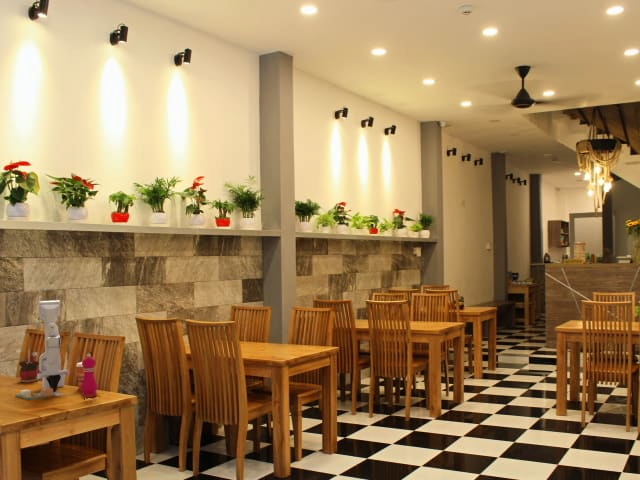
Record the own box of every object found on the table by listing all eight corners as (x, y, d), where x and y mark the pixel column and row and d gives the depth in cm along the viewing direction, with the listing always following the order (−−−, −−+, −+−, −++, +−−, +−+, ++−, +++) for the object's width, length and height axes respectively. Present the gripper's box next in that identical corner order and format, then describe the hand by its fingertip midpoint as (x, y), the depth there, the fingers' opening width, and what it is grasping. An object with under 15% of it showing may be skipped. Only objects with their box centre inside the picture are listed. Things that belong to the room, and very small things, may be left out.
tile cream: (26, 389, 320) (20, 390, 317) (30, 390, 317) (24, 391, 315) (26, 398, 319) (20, 399, 317) (31, 399, 317) (24, 400, 315)
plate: (50, 394, 330) (50, 390, 330) (64, 397, 321) (64, 394, 321) (30, 397, 323) (30, 394, 323) (44, 400, 314) (44, 397, 314)
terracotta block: (49, 394, 321) (49, 387, 321) (53, 395, 319) (53, 388, 319) (40, 395, 318) (40, 389, 318) (44, 396, 316) (44, 390, 316)
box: (30, 397, 323) (30, 391, 323) (44, 400, 314) (44, 395, 314) (15, 399, 318) (15, 394, 318) (29, 403, 308) (29, 397, 308)
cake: (15, 382, 365) (14, 348, 366) (25, 379, 375) (24, 346, 375) (33, 382, 364) (33, 348, 364) (43, 379, 373) (43, 346, 373)
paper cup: (73, 392, 331) (72, 363, 332) (84, 390, 338) (83, 361, 339) (86, 393, 328) (85, 364, 329) (97, 390, 336) (96, 361, 336)
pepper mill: (101, 396, 321) (100, 352, 322) (91, 399, 314) (90, 355, 315) (88, 395, 324) (87, 352, 324) (77, 398, 317) (77, 354, 317)
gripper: (42, 365, 313) (42, 395, 313) (72, 361, 324) (72, 390, 324) (34, 363, 318) (35, 393, 318) (64, 360, 329) (65, 388, 328)
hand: (53, 391), depth 321 cm, fingers closed
